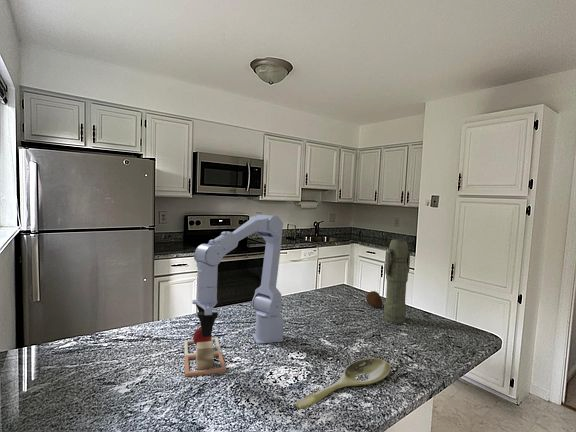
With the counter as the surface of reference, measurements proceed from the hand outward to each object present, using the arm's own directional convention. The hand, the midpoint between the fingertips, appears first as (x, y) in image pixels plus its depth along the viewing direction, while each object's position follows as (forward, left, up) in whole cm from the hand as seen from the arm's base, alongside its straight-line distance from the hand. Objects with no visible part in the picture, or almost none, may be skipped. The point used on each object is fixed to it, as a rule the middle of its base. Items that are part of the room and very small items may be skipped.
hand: (205, 331), depth 97 cm
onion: (0, -11, -10) cm, 15 cm away
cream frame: (0, -11, -10) cm, 15 cm away
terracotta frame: (0, 0, -10) cm, 10 cm away
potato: (-83, -40, -10) cm, 93 cm away
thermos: (-81, -21, -10) cm, 84 cm away
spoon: (-36, +20, -10) cm, 42 cm away
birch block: (0, 0, -10) cm, 10 cm away
